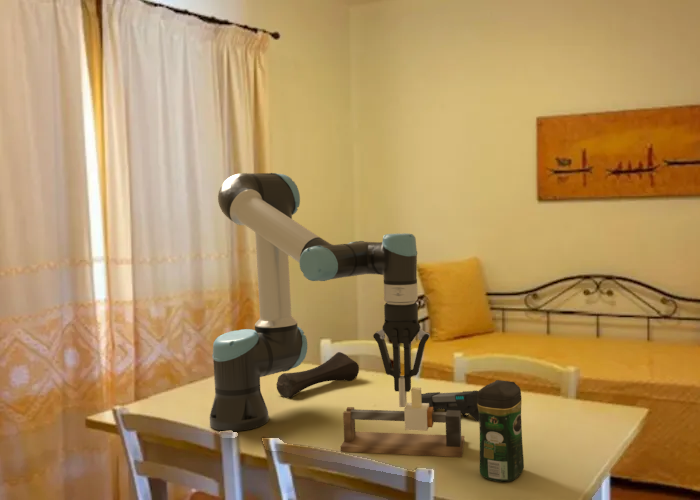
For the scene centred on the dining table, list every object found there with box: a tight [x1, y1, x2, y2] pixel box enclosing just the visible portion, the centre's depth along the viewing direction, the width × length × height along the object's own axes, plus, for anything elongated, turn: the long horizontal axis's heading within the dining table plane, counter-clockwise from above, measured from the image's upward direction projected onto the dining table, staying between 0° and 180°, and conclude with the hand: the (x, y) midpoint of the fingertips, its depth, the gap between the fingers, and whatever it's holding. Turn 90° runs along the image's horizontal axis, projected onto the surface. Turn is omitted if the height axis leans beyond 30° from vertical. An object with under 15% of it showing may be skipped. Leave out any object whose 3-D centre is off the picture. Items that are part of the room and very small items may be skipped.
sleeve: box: [403, 386, 430, 432], centre depth 153 cm, size 5×5×9 cm
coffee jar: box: [477, 379, 525, 483], centre depth 136 cm, size 10×8×19 cm
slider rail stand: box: [340, 406, 466, 458], centre depth 154 cm, size 27×10×9 cm, turn 77°
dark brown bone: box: [276, 351, 360, 399], centre depth 207 cm, size 11×10×28 cm
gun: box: [421, 390, 479, 423], centre depth 177 cm, size 4×20×10 cm, turn 47°
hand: (403, 405), depth 153 cm, fingers closed
